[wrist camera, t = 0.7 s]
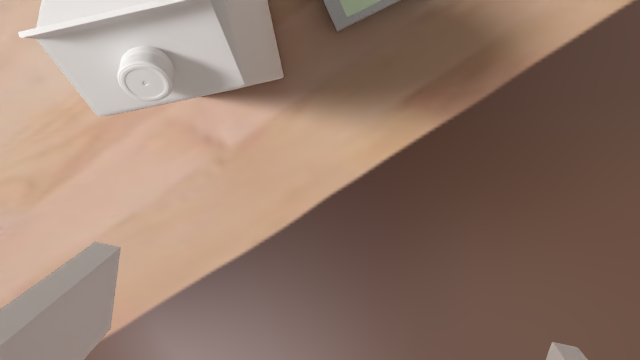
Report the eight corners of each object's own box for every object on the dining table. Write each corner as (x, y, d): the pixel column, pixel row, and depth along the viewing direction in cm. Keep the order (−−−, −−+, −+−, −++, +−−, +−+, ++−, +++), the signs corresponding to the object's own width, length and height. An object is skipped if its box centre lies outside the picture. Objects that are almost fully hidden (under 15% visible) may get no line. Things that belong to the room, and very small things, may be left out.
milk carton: (168, 0, 36) (-15, -67, 18) (263, -22, 36) (175, -114, 17) (193, 97, 38) (48, 129, 19) (284, 78, 37) (224, 92, 19)
